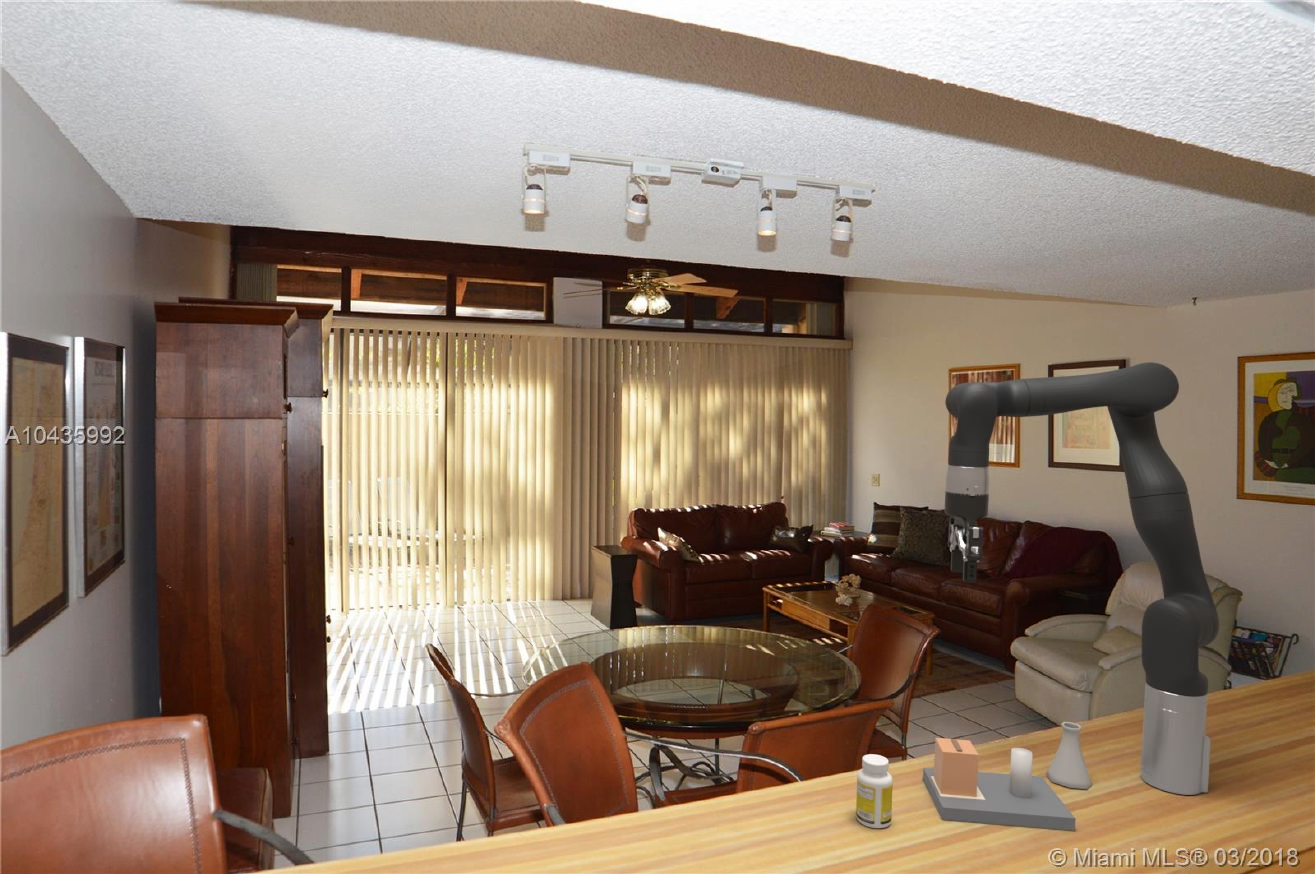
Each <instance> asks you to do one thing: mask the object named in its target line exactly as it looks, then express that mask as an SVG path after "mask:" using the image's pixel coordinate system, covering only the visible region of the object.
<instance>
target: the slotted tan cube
mask: <svg viewBox="0 0 1315 874" xmlns="http://www.w3.org/2000/svg"><path fill="white" fill-rule="evenodd" d="M934 739H935V740H934V741H935V742H934V744H935V745H934V765H933V768H934V780H935V782H936V784H937V786H938V789H939V791H940V793H941V794H948V795H959V796H970V797H977V778H978V772H979V753H978V751H977V750H976V748H975V746H974V745H973V744H972V742H971V740H970V739H969V740H967V739H956V738H944V737H942V738H941V737H935V738H934Z"/></svg>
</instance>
